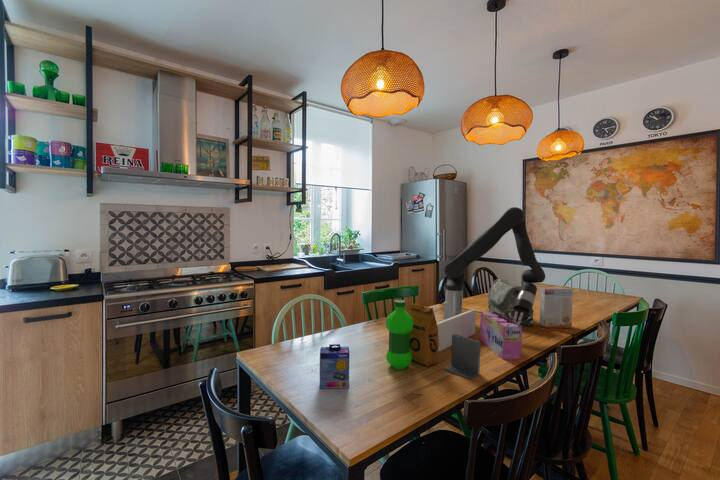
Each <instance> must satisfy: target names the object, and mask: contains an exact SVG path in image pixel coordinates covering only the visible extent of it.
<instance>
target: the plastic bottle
mask: <svg viewBox="0 0 720 480" xmlns="http://www.w3.org/2000/svg"><path fill="white" fill-rule="evenodd" d="M406 305H407V304H406V300H404V299H403V300H402V299H396V300H394V301H393V307H394V308H395V309H394V310H393V311H392V312H391V313H390V314H388V315H387V317H386V320H385V328H386V329H387V330H388V349H387V352H386V355H385V356H386V357H385V358H386V361H387V363H388V364H389V365H390V366H392V368H393V369H395V370H404V369H406V368H407V367H408V366H410V364H411V363H412V360H413V359H412V353H411V351H410V332H411V331H412V328H413V318H412V317H411V316H410V315H409V313H408V312H407V311H406V310H405V307H406Z"/></svg>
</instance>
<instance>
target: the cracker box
mask: <svg viewBox="0 0 720 480" xmlns="http://www.w3.org/2000/svg"><path fill="white" fill-rule="evenodd" d="M539 288H540V289H539V290H540V291H539V292H540V293H539V297H540V298H539V325H540V326H542V327H543V328H550V329H553V328H554V329H556V328H557V329H572V327H573V326H572V325H573V324H572V323H573V322H572V321H573V291H574V290H573V289H572V288H570V287H569V286H568V287H567V286H566V287H565V286H540V287H539Z"/></svg>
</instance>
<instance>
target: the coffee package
mask: <svg viewBox="0 0 720 480" xmlns="http://www.w3.org/2000/svg"><path fill="white" fill-rule="evenodd" d="M408 314H409V315H410V316H411V317H412V318H413V328H412V331H411V332H410V351H411V353H412V360H413V361H415V362H417V363H418V364H420V365H424V366H425V367H430V366H433V365H436V364H438V363H439V352H438V349H439V339H438V326H437V323H438V321H437V319H436V316H435V312H434V309H433V307H430V306H426V305H421V304H418V303H413V302H412V303H411V304H410V311H409V313H408Z"/></svg>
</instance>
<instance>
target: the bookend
mask: <svg viewBox="0 0 720 480" xmlns="http://www.w3.org/2000/svg"><path fill="white" fill-rule="evenodd" d="M450 361H451V362H450V363H451V364H449V365H447V366H445V367H444V370H443V371H446V372H449V373H451V374H454V375H457V376H460V377H463V378H465V379H469V380H470V379H471V380H473V379H474V378H476V377H477V376H478V375H480V371H481V369H480V368H481V365H480V363H481V340H477V339H474V338H469V337H467V338H466V337H463V336H459V335H455V334H453V335H452V345H451V359H450Z"/></svg>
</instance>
